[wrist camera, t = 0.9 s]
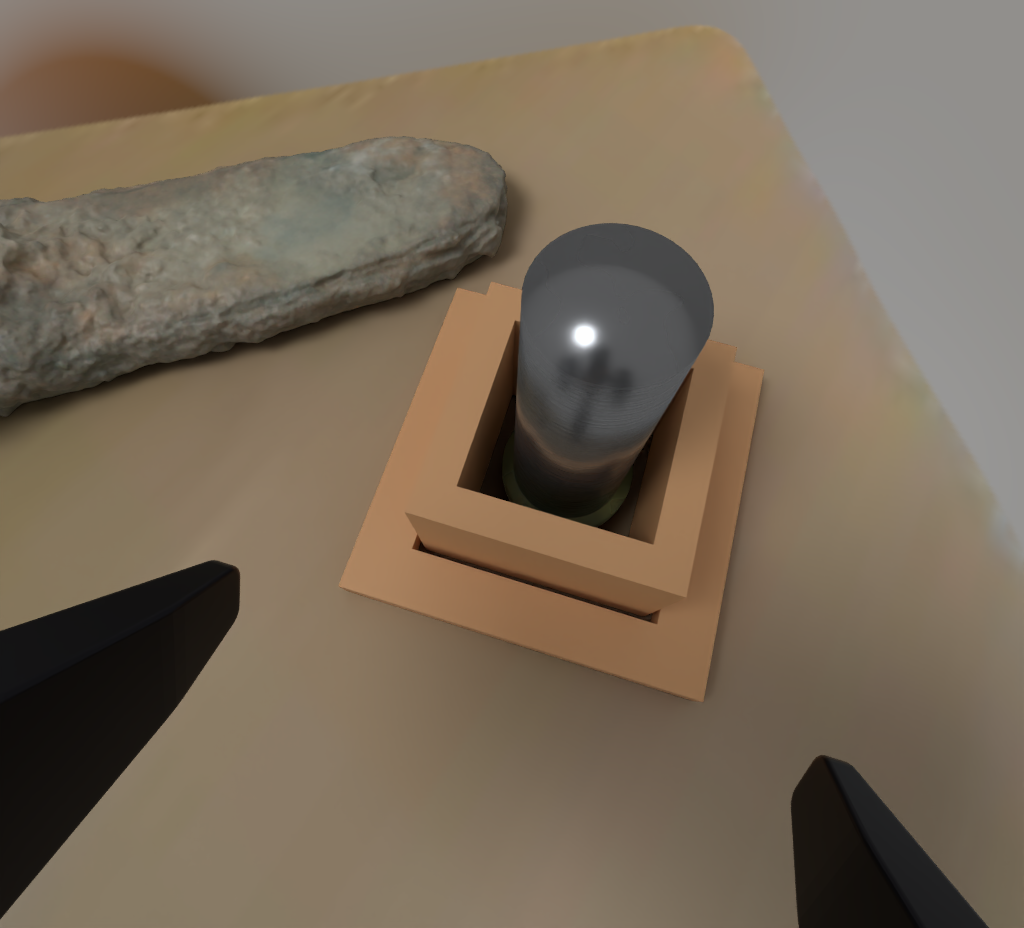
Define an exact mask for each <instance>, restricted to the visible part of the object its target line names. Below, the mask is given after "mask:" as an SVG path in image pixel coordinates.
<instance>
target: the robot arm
mask: <svg viewBox="0 0 1024 928" xmlns="http://www.w3.org/2000/svg"><path fill="white" fill-rule="evenodd" d="M239 602H240V572H239V570H238V568H237V567H235V566H233V565H229V564H226V563H223V562H220V561H216V560H211V561H207V562H204V563H201V564H198V565H195V566H192V567H189V568H186V569H183V570H180V571H177V572H174V573H171V574H168V575H165V576H163V577H160V578H157V579H154V580H151V581H148V582H145V583H142V584H139V585H136V586H133V587H130V588H127V589H124V590H121V591H118V592H115V593H112V594H109V595H106V596H103V597H100V598H97V599H94V600H91V601H88V602H85V603H82V604H79V605H76V606H73V607H70V608H67V609H64V610H61V611H58V612H55V613H53V614H50V615H47V616H44V617H41V618H38V619H35V620H32V621H29V622H26V623H23V624H20V625H17V626H14V627H11V628H8V629H5V630H2V631H0V919H1V918H2V917H3V916H4V914H5V913H6V912H7V911H8V910H9V908H10V907H11V906H12V905H13V904H14V902H15V901H16V900H17V899H18V898H19V896H20V895H21V894H22V893H23V891H24V890H25V889H26V888H27V887H28V885H29V884H30V883H31V882H32V881H33V879H34V878H35V877H36V876H37V875H38V873H39V872H40V871H41V870H42V869H43V867H44V866H45V865H46V864H47V863H48V861H49V860H50V859H51V858H52V857H53V855H54V854H55V853H56V852H57V851H58V849H59V848H60V847H61V846H62V845H63V843H64V842H65V841H66V840H67V839H68V837H69V836H70V835H71V834H72V833H73V831H74V830H75V829H76V828H77V827H78V825H79V824H80V823H81V822H82V821H83V819H84V818H85V817H86V816H87V815H88V813H89V812H90V811H91V810H92V809H93V807H94V806H95V805H96V804H97V803H98V801H99V800H100V799H101V798H102V797H103V795H104V794H105V793H106V792H107V791H108V789H109V788H110V787H111V786H112V785H113V783H114V782H115V781H116V780H117V779H118V777H119V776H120V775H121V774H122V773H123V771H124V770H125V769H126V768H127V767H128V765H129V764H130V763H131V762H132V761H133V759H134V758H135V757H136V756H137V755H138V753H139V752H140V751H141V750H142V749H143V747H144V746H145V745H146V744H147V743H148V741H149V740H150V739H151V738H152V737H153V735H154V734H155V733H156V732H157V731H158V729H159V728H160V727H161V726H162V725H163V723H164V722H165V721H166V720H167V718H168V717H169V716H170V715H171V713H172V712H173V711H174V710H175V708H176V707H177V706H178V704H179V703H180V702H181V700H182V699H183V697H184V696H185V694H186V693H187V692H188V690H189V689H190V687H191V686H192V684H193V683H194V681H195V680H196V678H197V677H198V675H199V674H200V672H201V671H202V669H203V668H204V666H205V665H206V663H207V662H208V660H209V659H210V658H211V656H212V655H213V653H214V652H215V650H216V649H217V647H218V646H219V644H220V643H221V641H222V640H223V638H224V637H225V635H226V634H227V632H228V631H229V629H230V628H231V626H232V625H233V623H234V622H235V620H236V618H237V615H238V612H239ZM791 816H792V833H793V850H794V868H795V885H796V902H797V914H798V924H799V928H989V927H988V926H987V925H986V924H985V922H984V921H983V920H982V919H981V918H980V917H979V915H978V914H977V913H976V912H975V911H974V909H973V908H972V907H971V906H970V905H969V903H968V902H967V901H966V900H965V899H964V898H963V896H962V895H961V894H960V893H959V892H958V890H957V889H956V888H955V887H954V886H953V884H952V883H951V882H950V881H949V880H948V879H947V877H946V876H945V875H944V874H943V873H942V871H941V870H940V869H939V868H938V867H937V865H936V864H935V863H934V862H933V861H932V860H931V858H930V857H929V856H928V855H927V854H926V852H925V851H924V850H923V849H922V848H921V846H920V845H919V844H918V843H917V842H916V841H915V839H914V838H913V837H912V836H911V835H910V833H909V832H908V831H907V830H906V829H905V827H904V826H903V825H902V824H901V823H900V822H899V820H898V819H897V818H896V817H895V816H894V814H893V813H892V812H891V811H890V810H889V808H888V807H887V806H886V805H885V804H884V803H883V801H882V800H881V799H880V798H879V797H878V795H877V794H876V793H875V792H874V791H873V789H872V788H871V787H870V786H869V785H868V784H867V782H866V781H865V780H864V779H863V778H862V776H861V775H860V774H859V773H858V772H857V770H856V769H855V768H854V767H853V766H852V765H850V764H849V763H847V762H844V761H841V760H838V759H835V758H832V757H829V756H825V755H820V756H818V757H816V758H815V759H814V761H813V762H812V764H811V765H810V767H809V768H808V770H807V771H806V773H805V774H804V776H803V777H802V779H801V780H800V782H799V783H798V785H797V786H796V788H795V790H794V792H793V795H792V800H791Z"/></svg>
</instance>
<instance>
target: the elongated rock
mask: <svg viewBox="0 0 1024 928" xmlns="http://www.w3.org/2000/svg"><path fill="white" fill-rule="evenodd" d="M505 177H506V174H505V171H504V170H503V169H502V167H501V166H500V165H498V164H497V162H496V161H495V160H494V159H493V158H492V157H491V155H490V154H489V153H487V152H484V151H482V150H480V149H477V148H475V147H472V146H470V145H462V144H459V143H455V142H454V143H453V142H444V141H439V140H432V139H427V138H425V139H416V138H413V137H405V136H403V137H383V138H375V139H368V140H364V141H360V142H357V143H351V144H349V145H346V146H345V147H340V148H337V149H330V150H325V151H323V152H311V153H302V154H297V155H293V156H281V157H269V158H268V157H267V158H262V159H259V160H255V161H250V162H244V163H242V164H237V165H236V166H226V167H217V168H215V169H214V170H211V171H208V172H205V173H202V174H198V175H195V176H189V177H184V178H176V179H168V180H164V181H156V182H153V183H149V184H145V185H137V186H133V187H127V188H122V187H119V188H115V189H100V190H96V191H92V192H91V193H89V194H83V195H81V196H77V197H74V198H65V199H62V200H56V201H50V202H40V201H38V200H35V199H33V198H28V197H25V198H14V199H10V200H0V416H4V417H5V416H9V415H10V414H11V413H12V412H13V411H14V410H15V409H16V408H17V407H18V406H20V405H21V404H22V403H26V402H30V401H36V400H39V399H43V398H46V397H54V396H57V395H61V394H64V393H67V392H73V391H79V390H82V389H84V388H90V387H94V386H96V385H98V384H100V383H101V382H103V381H111V380H113V379H114V378H115V377H117V376H120V375H122V374H124V373H130V372H132V371H134V370H136V369H138V368H140V367H143V366H146V365H149V364H155V363H157V362H161V363H170V362H174V361H178V360H180V359H186V358H189V359H191V358H195V357H197V356H199V355H203V354H206V353H208V352H210V351H214V352H224V351H228V350H230V349H231V348H232V347H233V346H234V345H235V343H236V342H247V343H252V342H253V343H260V342H262V341H263V340H265V339H267V338H270V337H273V336H275V335H277V334H278V333H279V332H284V331H288V330H291V329H295V328H297V327H300V326H303V325H306V324H309V323H314V322H318V321H319V320H320V319H322V318H326V317H328V316H332V315H336V314H338V313H341V312H343V311H349V310H353V309H355V308H359V307H361V306H365V305H369V304H375V303H377V302H382V301H385V300H389V299H391V298H394V297H402V296H403V295H404V294H405V293H412V292H414V291H416V290H419V289H422V288H426V287H427V286H428V285H429V284H431V283H433V282H436V281H439V280H444V279H454V278H455V276H456V275H457V274H458V273H459V272H460V271H461V270H462V268H463V267H464V266H465V265H466V264H470V263H472V262H473V261H475V260H476V259H478V258H480V257H481V256H482V255H487V256H489V257H494V255H495V254H496V252H497V250H498V248H499V246H500V243H501V237H502V234H503V230H504V227H505V223H506V214H507V207H508V204H507V198H506V192H507V185H506V183H505Z"/></svg>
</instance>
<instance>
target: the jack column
mask: <svg viewBox="0 0 1024 928" xmlns="http://www.w3.org/2000/svg"><path fill="white" fill-rule="evenodd" d="M713 317H714V304H713V298H712V293H711V290H710V287H709V284H708V282H707V280H706V278H705V276H704V274H703V272H702V270H701V269H700V267H699V266H698V264H697V263H696V262H695V261H694V260H693V259H692V257H691V256H690V255H689V254H688V253H687V252H685V251H684V250H683V249H682V248H681V247H680V246H678V245H677V244H675V243H674V242H673V241H671V240H669V239H668V238H666V237H664V236H662V235H660V234H658V233H656V232H653V231H651V230H648V229H645V228H641V227H638V226H633V225H628V224H617V223H604V224H595V225H589V226H585V227H581V228H578V229H575V230H572V231H570V232H568V233H566V234H564V235H562V236H560V237H558V238H557V239H555V240H554V241H552V242H551V243H549V244H548V245H547V246H546V247H545V248H544V249H543V250H542V251H541V252H540V253H539V254H538V255H537V257H536V258H535V259H534V261H533V262H532V264H531V265H530V267H529V269H528V272H527V274H526V276H525V279H524V283H523V287H522V295H521V313H520V334H519V354H518V374H517V395H516V415H515V430H514V431H513V432H512V434H511V436H510V437H509V439H508V441H507V444H506V446H505V449H504V453H503V460H502V478H503V484H504V488H505V491H506V494H507V496H508V498H509V500H510V502H511V503H515V504H518V505H521V506H525V507H528V508H532V509H535V510H538V511H542V512H545V513H548V514H552V515H555V516H558V517H562V518H565V519H568V520H572V521H575V522H579V523H582V524H585V525H589V526H592V527H595V528H596V527H598V526H600V525H602V524H603V523H605V522H606V521H607V520H608V519H610V518H611V517H612V516H613V515H614V514H615V512H616V511H617V510H618V508H619V507H620V506H621V504H622V503H623V501H624V500H625V498H626V496H627V494H628V492H629V489H630V486H631V482H632V477H633V463H634V461H635V460H636V458H637V456H638V455H639V453H640V452H641V450H642V448H643V447H644V445H645V443H646V442H647V440H648V438H649V437H650V435H651V433H652V432H653V430H654V428H655V427H656V425H657V423H658V422H659V420H660V418H661V417H662V415H663V414H664V412H665V410H666V409H667V407H668V405H669V404H670V402H671V400H672V399H673V397H674V395H675V394H676V392H677V390H678V389H679V387H680V385H681V384H682V382H683V380H684V379H685V377H686V376H687V374H688V372H689V371H690V369H691V367H692V366H693V364H694V362H695V361H696V359H697V357H698V356H699V354H700V352H701V351H702V349H703V347H704V346H705V344H706V342H707V340H708V337H709V335H710V332H711V328H712V324H713Z"/></svg>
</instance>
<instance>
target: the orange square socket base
mask: <svg viewBox="0 0 1024 928" xmlns="http://www.w3.org/2000/svg"><path fill="white" fill-rule="evenodd" d="M521 295H522V290H520V289H516V288H513V287H509V286H505V285H501V284H498V283H494V282H491V284H490V287H489V289H488V292H487V295H483V294H480V293H476V292H472V291H469V290H465V289H461V288H457V290H456V293H455V295H454V298H453V300H452V303H451V305H450V308H449V310H448V313H447V315H446V318H445V320H444V323H443V325H442V328H441V330H440V333H439V335H438V338H437V340H436V343H435V345H434V348H433V350H432V353H431V355H430V358H429V360H428V363H427V365H426V368H425V370H424V373H423V375H422V378H421V380H420V383H419V385H418V388H417V390H416V393H415V395H414V398H413V400H412V403H411V405H410V408H409V410H408V413H407V415H406V418H405V420H404V423H403V425H402V428H401V430H400V433H399V435H398V438H397V440H396V443H395V445H394V448H393V450H392V453H391V455H390V458H389V460H388V463H387V465H386V468H385V470H384V473H383V475H382V478H381V480H380V483H379V485H378V488H377V491H376V493H375V496H374V498H373V501H372V503H371V506H370V508H369V511H368V513H367V516H366V518H365V521H364V523H363V526H362V528H361V531H360V533H359V536H358V538H357V541H356V543H355V546H354V548H353V551H352V553H351V556H350V558H349V561H348V563H347V566H346V568H345V571H344V573H343V576H342V578H341V581H340V583H339V587H341V588H343V589H344V590H346V591H349V592H352V593H355V594H358V595H362V596H365V597H368V598H371V599H374V600H377V601H380V602H383V603H387V604H390V605H393V606H396V607H399V608H402V609H405V610H409V611H412V612H415V613H418V614H421V615H424V616H427V617H431V618H434V619H437V620H440V621H443V622H446V623H449V624H453V625H456V626H459V627H462V628H465V629H468V630H471V631H475V632H478V633H481V634H484V635H487V636H490V637H493V638H497V639H500V640H503V641H506V642H509V643H512V644H515V645H519V646H522V647H525V648H528V649H531V650H534V651H537V652H541V653H544V654H547V655H550V656H553V657H556V658H559V659H562V660H566V661H569V662H572V663H575V664H578V665H581V666H584V667H588V668H591V669H594V670H597V671H600V672H603V673H606V674H610V675H613V676H616V677H619V678H622V679H625V680H628V681H632V682H635V683H638V684H641V685H644V686H647V687H650V688H654V689H657V690H660V691H663V692H666V693H669V694H672V695H676V696H679V697H682V698H685V699H688V700H691V701H698V702H703V701H704V696H705V690H706V685H707V679H708V674H709V668H710V663H711V658H712V652H713V647H714V641H715V636H716V630H717V625H718V619H719V614H720V608H721V603H722V598H723V592H724V587H725V581H726V576H727V570H728V565H729V559H730V554H731V548H732V543H733V538H734V532H735V527H736V521H737V516H738V510H739V505H740V499H741V494H742V488H743V483H744V478H745V472H746V467H747V461H748V456H749V450H750V445H751V439H752V434H753V428H754V423H755V417H756V412H757V407H758V401H759V396H760V390H761V385H762V379H763V374H764V370H763V369H759V368H755V367H752V366H748V365H744V364H741V363H737V362H734V360H735V355H736V350H737V347H734V346H731V345H727V344H723V343H719V342H716V341H712V340H707V342H706V344H705V346H704V347H703V349H702V351H701V352H700V354H699V356H698V357H697V359H696V361H695V362H694V364H693V366H692V367H691V369H690V371H689V372H688V374H687V376H686V377H685V379H684V380H683V382H682V384H681V385H680V387H679V389H678V390H677V392H676V394H675V395H674V397H673V399H672V400H671V402H670V404H669V405H668V407H667V409H666V410H665V412H664V414H663V415H662V417H661V418H660V420H659V422H658V423H657V425H656V427H655V428H654V430H653V432H652V433H651V434H653V438H652V442H651V447H650V451H649V455H648V459H647V463H646V467H645V471H644V475H643V479H642V483H641V488H640V492H639V496H638V500H637V504H636V508H635V512H634V516H633V520H632V524H631V529H630V533H629V537H626V536H622V535H619V534H615V533H612V532H609V531H605V530H602V529H599V528H595V527H592V526H589V525H585V524H582V523H579V522H575V521H572V520H568V519H565V518H562V517H558V516H555V515H552V514H548V513H545V512H542V511H538V510H535V509H532V508H528V507H525V506H521V505H518V504H515V503H511V502H508V501H505V500H501V499H498V498H495V497H491V496H488V495H485V494H481V493H479V492H480V489H481V486H482V483H483V480H484V477H485V474H486V471H487V468H488V465H489V462H490V459H491V456H492V453H493V450H494V448H495V445H496V442H497V439H498V436H499V433H500V430H501V427H502V424H503V421H504V418H505V415H506V412H507V409H508V406H509V403H510V400H511V397H512V394H513V395H517V374H518V354H519V334H520V313H521ZM421 541H422V543H423V545H424V546H425V548H426V550H428V551H432V552H435V553H438V554H441V555H444V556H448V557H451V558H454V559H457V560H461V561H464V562H467V563H470V564H474V565H477V566H480V567H483V568H487V569H490V570H493V571H496V572H500V573H503V574H506V575H509V576H513V577H516V578H519V579H522V580H525V581H529V582H532V583H535V584H538V585H542V586H545V587H548V588H551V589H555V590H558V591H561V592H564V593H568V594H571V595H574V596H577V597H581V598H584V599H587V600H590V601H594V602H597V603H600V604H603V605H606V606H610V607H613V608H616V609H619V610H623V611H626V612H629V613H632V614H636V615H639V616H642V617H644V616H646V615H648V614H651V613H652V618H651V622H647V621H644V620H641V619H638V618H635V617H631V616H628V615H625V614H622V613H618V612H615V611H612V610H609V609H605V608H602V607H599V606H596V605H592V604H589V603H586V602H583V601H580V600H576V599H573V598H570V597H567V596H563V595H560V594H557V593H554V592H550V591H547V590H544V589H541V588H537V587H534V586H531V585H528V584H525V583H521V582H518V581H515V580H512V579H508V578H505V577H502V576H499V575H495V574H492V573H489V572H486V571H482V570H479V569H476V568H473V567H470V566H466V565H463V564H460V563H457V562H453V561H450V560H447V559H444V558H440V557H437V556H434V555H431V554H427V553H424V552H421V551H418V549H419V547H420V544H421Z"/></svg>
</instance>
